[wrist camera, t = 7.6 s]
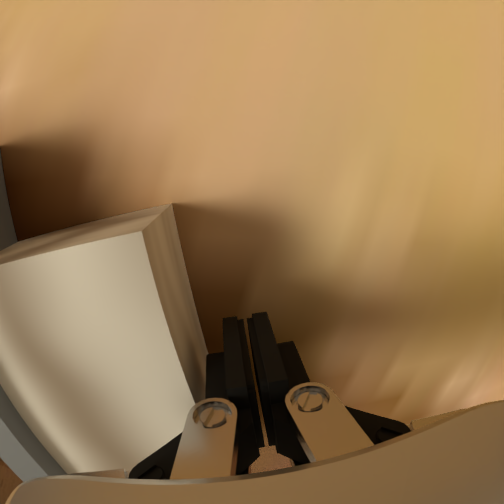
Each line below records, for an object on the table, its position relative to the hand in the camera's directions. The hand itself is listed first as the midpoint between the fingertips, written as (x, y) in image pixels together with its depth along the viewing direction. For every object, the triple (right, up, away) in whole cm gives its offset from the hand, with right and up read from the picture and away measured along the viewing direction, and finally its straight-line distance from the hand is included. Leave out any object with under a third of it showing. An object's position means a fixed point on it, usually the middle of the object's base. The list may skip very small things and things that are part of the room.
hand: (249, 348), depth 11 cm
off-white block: (-6, -1, +2) cm, 6 cm away
